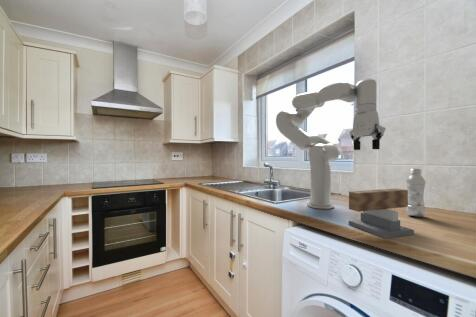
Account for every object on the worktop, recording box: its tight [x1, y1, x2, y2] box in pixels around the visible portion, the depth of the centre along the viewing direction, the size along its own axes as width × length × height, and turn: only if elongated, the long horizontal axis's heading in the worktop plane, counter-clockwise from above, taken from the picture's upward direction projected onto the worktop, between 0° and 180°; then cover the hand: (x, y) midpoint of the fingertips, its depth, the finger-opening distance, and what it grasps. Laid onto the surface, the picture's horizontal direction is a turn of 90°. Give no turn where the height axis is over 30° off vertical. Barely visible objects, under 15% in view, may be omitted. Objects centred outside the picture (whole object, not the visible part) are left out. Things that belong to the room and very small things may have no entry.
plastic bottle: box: [405, 168, 426, 218], centre depth 95 cm, size 6×7×20 cm
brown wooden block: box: [348, 188, 408, 213], centre depth 79 cm, size 22×4×6 cm, turn 107°
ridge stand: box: [348, 209, 415, 239], centre depth 79 cm, size 15×12×8 cm
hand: (366, 149), depth 97 cm, fingers open, 9 cm apart
